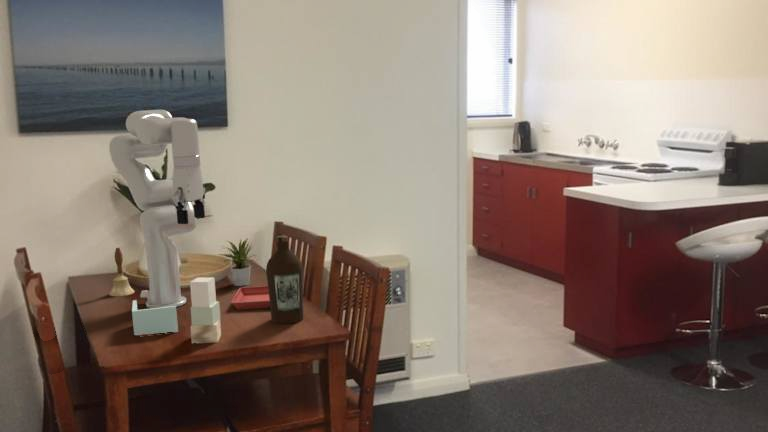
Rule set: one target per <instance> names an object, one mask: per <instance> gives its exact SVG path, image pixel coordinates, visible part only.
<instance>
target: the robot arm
mask: <svg viewBox="0 0 768 432" xmlns="http://www.w3.org/2000/svg"><path fill="white" fill-rule="evenodd" d="M125 127H126V130H127V131H128V133H122V134H118V135H116V136H114V137H113V138H112V139H110V142H109V149H108V150H109V156H110V158H111V161H112V164H113V165H114V167H115V169H116V170H117V172H118V173H119V174H120V175H121V177H122V178H123V179H124V180H125V182H126V184H127V187H128V189H129V191H130V194H131V196H132V198H133V200H134V202H135V204H136V206H137V207H138V209H140V211H143V212H142V213H141V215H140V218H139V222H140V229H141V232H142V235H143V239H144V245H145V255H146V264H147V274H148V284H149V290H146V289H145V290H143V289H142V290H141V292H140V296H139V297H140V298H146V299H147V300H146V302H145V306H146V307H147V309H151V308H160V307H169V306H176V308H178V307H181V306H183V305H184V304H186V302H187V297H186V296H183V295H182V293H181V282H180V281H181V280H180V269H179V258H178V249H177V246H176V245H175V243H173V242H172V241H171V239H170V238H169V237H171V236H175V235H181V234H182V235H183V234H187V233H191V232H192V231H195V229H196V228H197V226H198V219H204V218H206V214H205V212H206V211H205V203H206V201H205V198H206V187H205V186H204V183H203V176H202V170H201V157H200V143H199V131H198V122H197V120H195V119H194V118H187V117H184V116H183V117H180V116H179V117H173V115H172V114H171V113H170V112H169V111H167V110H165V109H153V110H152V109H148V110H137V111H134V112H132V113H130V114H129V115H128V116H127V118H126V121H125ZM170 144H171V149H172V150H171V151H172V161H173V170H172V179H171V178H168V179H167V178H166V179H156V178H155V177H154V175H153V173H152V171H151V169H149V168H148V167H147V166H146V165H145V164H144V163H142V162H140V161H139V159H148V158H156V157H160V156H162V155H164V153H165V152H166V149H167V147H168V145H170ZM136 159H138V160H136ZM192 202H193V203H194V204H192Z"/></svg>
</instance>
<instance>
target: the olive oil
mask: <svg viewBox="0 0 768 432" xmlns="http://www.w3.org/2000/svg"><path fill="white" fill-rule="evenodd" d="M276 240H277V241H276V245H277V246H276V247H277V250H275V252H274V253H273V254H272V255H271V257H270V258H269V259H268V261H267V263H266V266H265V267H266V269H265V271H266V272H265V274H266V281H267V286H268V291H269V299H270V316H271V317H270V318H271V322H273V324H274V323H275V324H278V325H279V324H280V325H288V324H290V325H291V324H296V323H299V322H301V321H302V320H304V292H303V291H304V282H303V281H304V269H303V263H302V261H301V259H300V258H299V257H298V256H297V255H296V254H295V253H294V252H293V251H292V250H291V249H290V245H289V244H290V243H289V242H290V241H289V236H288V235H277V236H276Z"/></svg>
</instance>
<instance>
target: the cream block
mask: <svg viewBox="0 0 768 432" xmlns="http://www.w3.org/2000/svg"><path fill="white" fill-rule="evenodd" d="M189 286H190V299H191V307H210V306H212V305H213V304H214V303H216V301H217V295H216V281H215V277H199V276H198V277H195V278H194V279H192V280H191V281H190V282H189Z"/></svg>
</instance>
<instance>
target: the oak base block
mask: <svg viewBox="0 0 768 432" xmlns="http://www.w3.org/2000/svg"><path fill="white" fill-rule="evenodd" d="M189 326H190V327H189V328H190V338H191V344H192V345H194V344H193V343H196V344H211V343H218V342H219V341H220V338H221V336H222V329H221V328H222V325H221V319H220V320H219V321H217V322H216V323H215V324H214V325H192V323H191V324H190V325H189Z"/></svg>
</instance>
